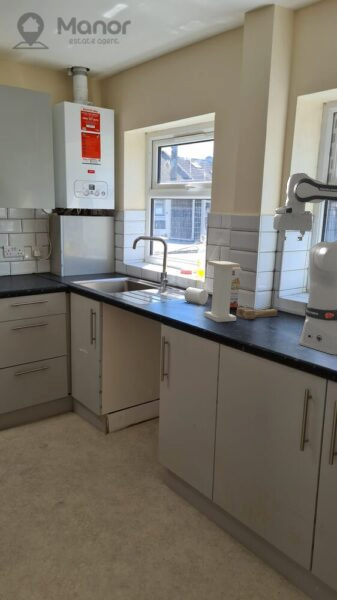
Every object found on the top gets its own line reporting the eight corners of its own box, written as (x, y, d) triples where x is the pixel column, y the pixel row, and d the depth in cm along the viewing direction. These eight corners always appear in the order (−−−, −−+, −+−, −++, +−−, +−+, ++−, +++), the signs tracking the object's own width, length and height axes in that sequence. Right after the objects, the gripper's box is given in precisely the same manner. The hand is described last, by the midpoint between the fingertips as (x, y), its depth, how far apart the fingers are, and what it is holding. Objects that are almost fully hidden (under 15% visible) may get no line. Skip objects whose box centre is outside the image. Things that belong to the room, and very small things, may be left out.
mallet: (280, 317, 219) (280, 309, 218) (245, 319, 211) (246, 311, 210) (269, 313, 226) (270, 305, 225) (236, 315, 218) (236, 307, 217)
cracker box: (222, 308, 234) (224, 267, 230) (217, 305, 239) (220, 266, 235) (246, 307, 237) (250, 268, 233) (242, 305, 243) (245, 266, 239)
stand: (235, 320, 207) (240, 264, 202) (217, 322, 202) (221, 264, 198) (222, 314, 217) (226, 261, 212) (204, 316, 213) (207, 261, 208)
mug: (198, 305, 238) (199, 290, 236) (183, 302, 244) (184, 287, 243) (211, 302, 246) (212, 288, 245) (197, 299, 253) (198, 285, 251)
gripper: (307, 211, 213) (304, 240, 216) (272, 208, 205) (269, 239, 207) (317, 211, 208) (313, 241, 210) (281, 209, 199) (278, 240, 202)
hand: (291, 240), depth 209 cm, fingers open, 8 cm apart
